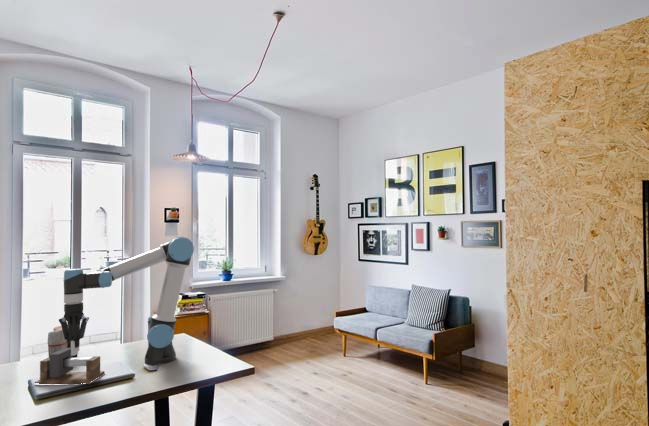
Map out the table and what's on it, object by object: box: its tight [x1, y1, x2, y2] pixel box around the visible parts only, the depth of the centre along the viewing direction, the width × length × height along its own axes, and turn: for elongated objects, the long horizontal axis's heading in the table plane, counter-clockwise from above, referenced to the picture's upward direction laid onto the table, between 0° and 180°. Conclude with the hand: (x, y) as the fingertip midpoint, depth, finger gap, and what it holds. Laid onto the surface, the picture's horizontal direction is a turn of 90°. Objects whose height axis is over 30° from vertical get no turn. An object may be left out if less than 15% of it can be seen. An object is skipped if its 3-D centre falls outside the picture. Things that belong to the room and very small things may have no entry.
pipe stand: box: [34, 355, 105, 385], centre depth 189 cm, size 24×13×10 cm, turn 89°
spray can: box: [47, 328, 67, 358], centre depth 204 cm, size 8×8×20 cm
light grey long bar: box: [49, 356, 94, 367], centre depth 190 cm, size 21×4×4 cm, turn 89°
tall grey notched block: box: [50, 348, 74, 377], centre depth 190 cm, size 4×10×10 cm, turn 179°
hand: (74, 354), depth 190 cm, fingers closed
